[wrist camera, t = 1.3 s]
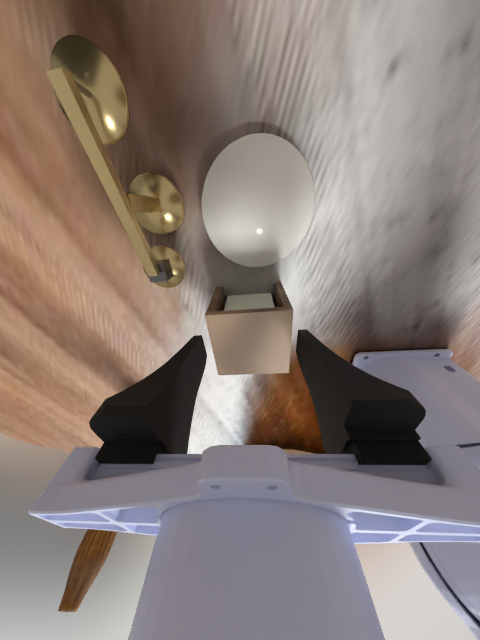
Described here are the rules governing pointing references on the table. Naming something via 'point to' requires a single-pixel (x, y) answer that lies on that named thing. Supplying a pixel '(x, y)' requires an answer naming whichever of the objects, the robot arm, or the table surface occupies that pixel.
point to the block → (249, 301)
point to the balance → (107, 129)
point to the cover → (251, 336)
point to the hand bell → (86, 567)
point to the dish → (258, 200)
